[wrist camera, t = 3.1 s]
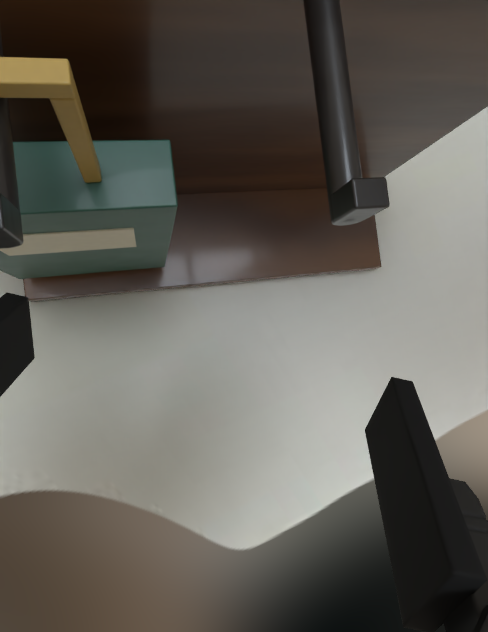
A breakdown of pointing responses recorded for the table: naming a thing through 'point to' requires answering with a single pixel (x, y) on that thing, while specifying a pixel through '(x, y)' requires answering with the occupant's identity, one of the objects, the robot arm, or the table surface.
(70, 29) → the hook rack
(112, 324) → the table surface
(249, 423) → the table surface
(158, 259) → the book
